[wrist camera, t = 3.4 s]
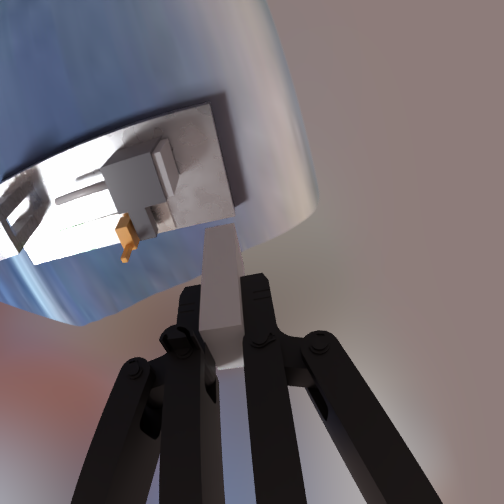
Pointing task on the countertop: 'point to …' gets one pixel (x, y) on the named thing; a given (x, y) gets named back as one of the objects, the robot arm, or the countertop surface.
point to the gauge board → (101, 204)
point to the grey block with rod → (136, 182)
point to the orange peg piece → (127, 236)
